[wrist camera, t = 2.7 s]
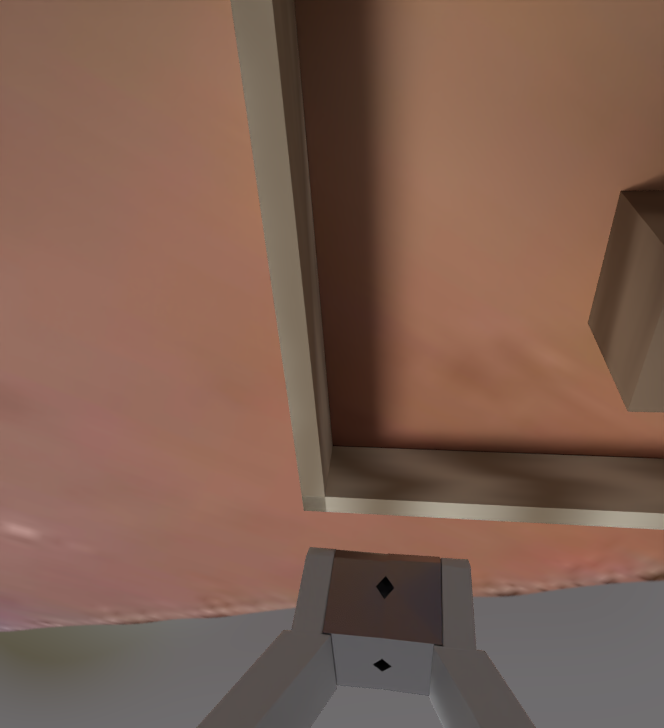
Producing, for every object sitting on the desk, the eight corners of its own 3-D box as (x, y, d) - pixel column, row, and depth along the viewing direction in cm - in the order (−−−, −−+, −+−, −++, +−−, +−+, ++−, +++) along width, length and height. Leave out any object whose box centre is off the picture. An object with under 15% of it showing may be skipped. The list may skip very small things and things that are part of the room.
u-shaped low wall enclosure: (313, 459, 27) (303, 510, 25) (246, -106, 14) (214, -112, 12) (752, 478, 25) (788, 536, 22) (1136, -184, 12) (1313, -213, 10)
